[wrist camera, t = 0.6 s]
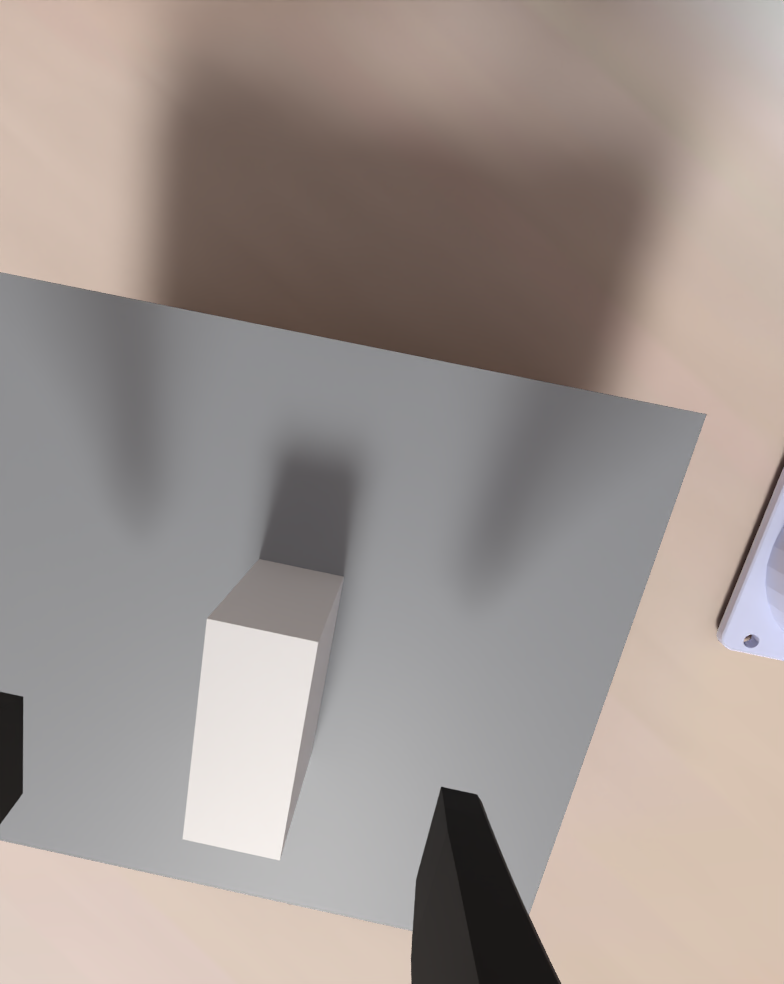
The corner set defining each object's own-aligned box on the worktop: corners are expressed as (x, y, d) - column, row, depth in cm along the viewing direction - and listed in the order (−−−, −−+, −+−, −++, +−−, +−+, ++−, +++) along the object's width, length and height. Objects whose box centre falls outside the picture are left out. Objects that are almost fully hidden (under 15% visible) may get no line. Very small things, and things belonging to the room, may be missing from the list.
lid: (681, 410, 11) (811, 431, 7) (509, 915, 15) (537, 1097, 11) (16, 276, 11) (-185, 231, 7) (16, 807, 15) (-118, 950, 11)
